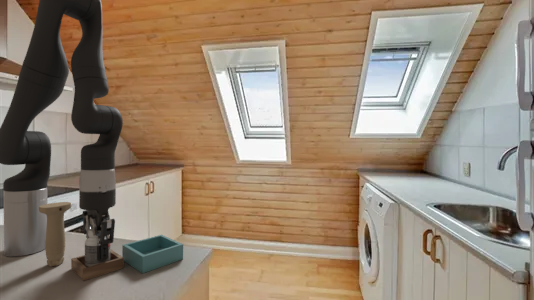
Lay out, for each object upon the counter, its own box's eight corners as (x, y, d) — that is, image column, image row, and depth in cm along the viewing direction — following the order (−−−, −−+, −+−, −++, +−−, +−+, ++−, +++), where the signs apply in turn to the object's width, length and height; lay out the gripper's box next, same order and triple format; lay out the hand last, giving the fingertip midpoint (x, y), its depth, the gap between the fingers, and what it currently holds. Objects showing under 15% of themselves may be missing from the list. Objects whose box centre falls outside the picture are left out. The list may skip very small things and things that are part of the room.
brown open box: (71, 268, 68) (71, 258, 67) (109, 257, 74) (109, 248, 74) (83, 280, 62) (83, 269, 62) (123, 267, 69) (123, 257, 69)
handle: (35, 266, 68) (35, 206, 68) (64, 257, 74) (64, 201, 73) (45, 271, 66) (45, 208, 65) (74, 261, 72) (74, 203, 71)
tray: (122, 259, 73) (122, 244, 73) (161, 248, 82) (161, 234, 81) (142, 273, 66) (142, 256, 66) (183, 259, 75) (183, 244, 74)
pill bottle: (111, 270, 67) (111, 230, 67) (84, 275, 64) (84, 233, 64) (109, 261, 72) (109, 224, 72) (84, 266, 69) (84, 227, 69)
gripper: (70, 185, 69) (70, 252, 70) (91, 193, 60) (91, 271, 61) (103, 182, 75) (102, 244, 76) (127, 189, 66) (126, 260, 66)
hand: (97, 256), depth 68 cm, fingers open, 5 cm apart
